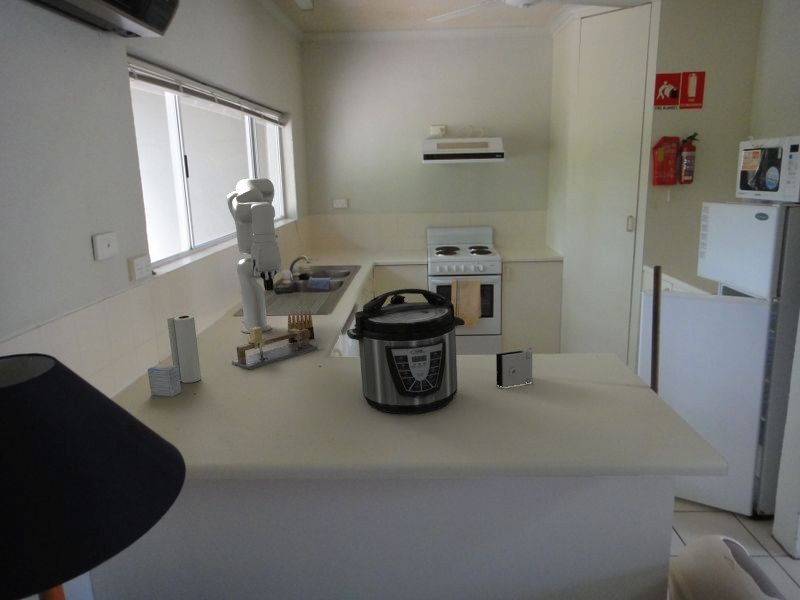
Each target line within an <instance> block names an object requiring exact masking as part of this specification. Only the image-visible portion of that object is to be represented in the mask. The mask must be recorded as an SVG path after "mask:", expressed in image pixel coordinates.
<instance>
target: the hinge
mask: <svg viewBox="0 0 800 600" xmlns="http://www.w3.org/2000/svg"><path fill="white" fill-rule="evenodd" d="M495 356H496V357H495V358H496V360H495V361H496V362H495V363H496V364H495V367H496V370H495V371H496V386H497V385H499V387H500V386H502V387H508V386H514V385H520V384H526V382H527V383H530V382H532V383H533V350H532V346H531V345H528V346H527V347H525V348H524V349H518V350H511V351H503V352H497V353H496V355H495ZM526 385H527V384H526ZM499 387H498V388H499Z"/></svg>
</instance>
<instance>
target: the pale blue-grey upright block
mask: <svg viewBox="0 0 800 600" xmlns="http://www.w3.org/2000/svg"><path fill="white" fill-rule="evenodd" d="M147 374H148V381H149V389H150V395H151V396H159V397H167V398H168V397H170V398H171V397H175V396H176V395H179V394H180V393H181V392H182V388H181V380H179V373H178V366H173V364H171V365H169V364H155V365H153V366H151V367H149V368H147Z"/></svg>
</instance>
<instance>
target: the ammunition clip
mask: <svg viewBox="0 0 800 600" xmlns="http://www.w3.org/2000/svg"><path fill="white" fill-rule="evenodd" d="M291 315H292V317H291ZM287 328H288V329H287V333H290V330H292V329H298V330H301V329H308V334H309V341H311V340H315V339H316V338H315V331H314V325H313V318H312V312H311V309H309V310H308V311H307V310H305V311H304V312H303V311H302V310H301V311H300V313H299V312H298V311H296V315H295V313H294V312H293V313H292V314H290V313H288V315H287ZM287 341H288V344H293V343H296V342H297V337H293V338H290V339H287ZM300 342H302V339H301V336H300Z"/></svg>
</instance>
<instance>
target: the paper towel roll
mask: <svg viewBox="0 0 800 600" xmlns="http://www.w3.org/2000/svg"><path fill="white" fill-rule="evenodd" d="M166 321H167V322H166V323H167V329H168V337H169V343H170V344H169V345H170V350H171V351H170V352H171V358H172V359H171V361H172V366H178V373H179V380H180V381H181V382H182V383H185V384H190V383H191V384H192V383H195V382H198V381H200V380H202V374H201V372H202V371H201V367H200V365H201V364H200V357H199V355H200V354H199V348H198V346H199V345H198V338H197V331H196V323H195V321H196V320H195V316H194V315H189V314H188V315H179V316H174V317H171V318H166Z"/></svg>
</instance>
